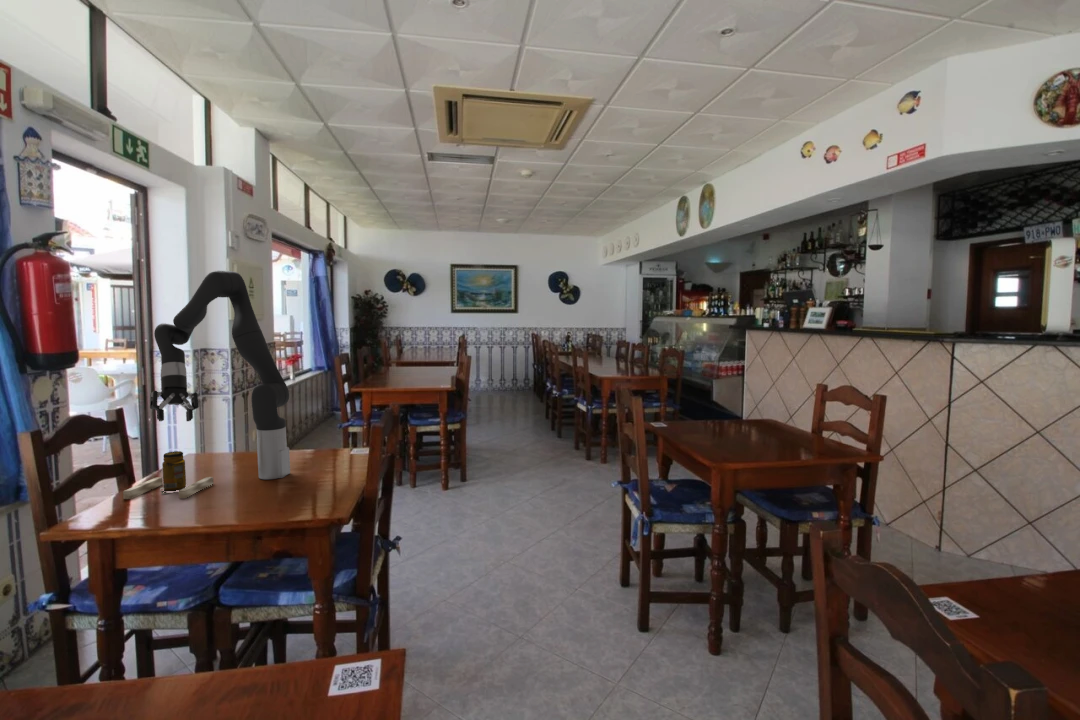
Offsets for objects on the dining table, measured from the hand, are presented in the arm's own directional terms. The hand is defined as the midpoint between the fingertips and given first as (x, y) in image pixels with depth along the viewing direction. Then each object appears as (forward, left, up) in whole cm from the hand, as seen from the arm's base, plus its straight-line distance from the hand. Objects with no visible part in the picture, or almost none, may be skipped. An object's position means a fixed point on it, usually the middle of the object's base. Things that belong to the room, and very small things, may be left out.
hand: (175, 420), depth 180 cm
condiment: (-9, +14, -20) cm, 26 cm away
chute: (-9, +16, -20) cm, 27 cm away
